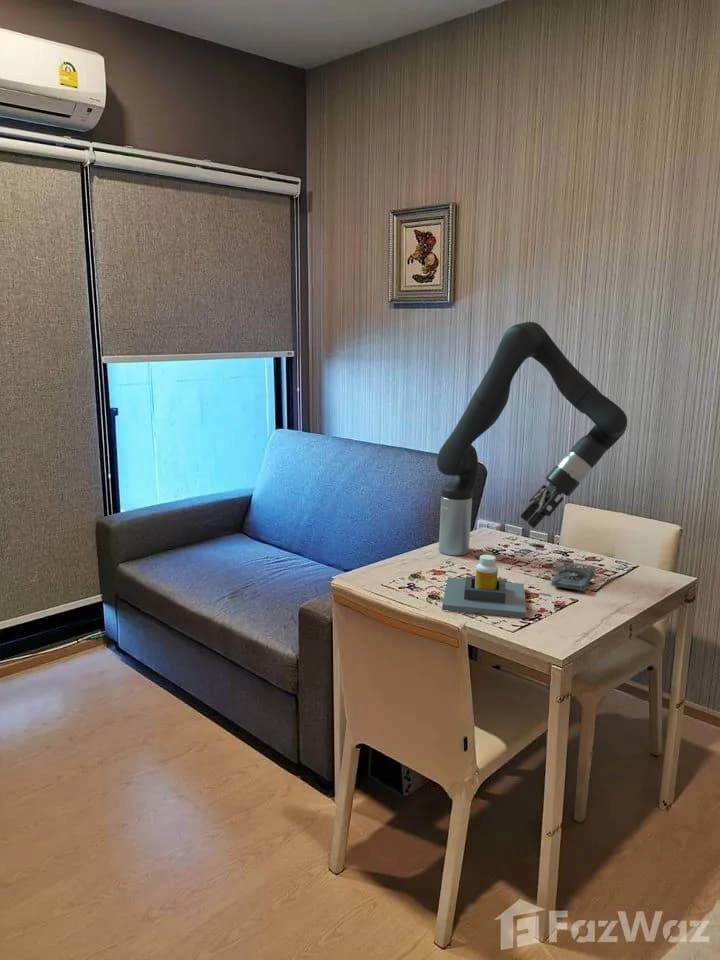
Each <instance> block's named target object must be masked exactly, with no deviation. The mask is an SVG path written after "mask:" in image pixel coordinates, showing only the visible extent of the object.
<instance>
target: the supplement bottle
mask: <svg viewBox="0 0 720 960" xmlns="http://www.w3.org/2000/svg"><path fill="white" fill-rule="evenodd" d="M496 558H497V557H496V556H494V555H492V554H481V555H480V556H479V561H478V562H479V563H478V564H477V565H476V567H475V568H476V569H475V577H476V579H475V588H476V589H488V590H496V587H497V579H498V573H499V572H498V571H499V567H498V566H497V565H496V564H497V563H496V561H497V559H496Z"/></svg>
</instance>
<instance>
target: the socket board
mask: <svg viewBox="0 0 720 960" xmlns="http://www.w3.org/2000/svg"><path fill="white" fill-rule="evenodd" d="M465 576H466V577H465V578H461V577H449V576H448V577H447V579H446V585H445V589H444V595H443V600H442V604H441V605H442V606H441V607H442V608H441V611H442V610H448V611H447V612H453V611H454V612H456V613H464V612H465V613H467V614H475V613H480V614H479V615H485V614H488V616H496V615H498V616H500V617H506V618H507V617H508V618H509V617H510V618H518V619H527V606H526V605H527V603H526V594H525V586H524V585H525V584H524V583H521V582H519V583H518V582H509V581H508V582H507V581H506V579H503V578H497V587H496V590H488V589H476V588H475V579H476V576H470V575H465ZM454 612H453V613H454ZM465 613H464V614H465ZM498 616H497V617H498Z"/></svg>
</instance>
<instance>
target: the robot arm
mask: <svg viewBox="0 0 720 960" xmlns="http://www.w3.org/2000/svg"><path fill="white" fill-rule="evenodd" d="M496 349H497V350H496V351H495V354H494V357H493V358H492V359H493V360H492V362H491V363H490V366H489V367H488V369H487V371H486V372H485V374H484V376H483V377H482V380H481V381H480V383H479V384H478V386H477V388H476V389H475V392H474V393H473V395H472V397H471V398H470V401H469V403H468V405H467V407H466V409H465V411H464V412H463V414H462V415H461V417H460V419H459V420H458V423H457V424H456V426H455V428H454V429H453V431H452V432H451V433H450V434H449V437H448V438H447V439H446V440H445V442H444V443H443V445H442V446H441V447H440V450H439V451H438V455H437V458H436V459H437V460H436V465H437V468H438V471H439V472H440V473H441V474H442V475H445V476H450V477H451V478H450V479H449V481H448V482H447V483H445V484H444V485H443V486H442V488H441V492H440V493H441V494H440V496H441V497H440V514H439V516H440V517H439V518H440V519H439V532H438V533H439V537H438V538H439V539H438V551H439V553H442V554H445V555H449V556H464V555H467V554H469V553H470V539H471V523H472V522H471V521H472V506H473V492H474V490H475V488H476V485H477V484H476V483H477V475H478V474H477V473H478V464H479V463H478V462H479V457H478V452H477V450H476V448H475V447H474V446H473V445H472V444H473V443H474V442H475V441H476V440H477V439H478V438H480V437H481V436H482V435H483V434H484V433H485V432H486V431H487V430H489V429H490V428H491V427H492V426H493V425H494V424H495V423H496V422H497V420H498V419H499V418H500V416H501V414H502V412H503V411H504V409H505V407H506V405H507V403H508V401H509V397H510V393H511V392H510V391H511V385H512V381H513V379H514V377H515V374H517V371H518V370H519V369H520V367H521V366H522V365H523V363H524V362H525V361H526V360H527V359H529V358H532V359H534V360H535V361H536V362H538V363H539V364H541V365H542V366H543V368H545V370H546V371H547V373H549V375H550V377H551V378H552V380H553V382H554V384H555V385H556V386H555V387H556V388H557V389H558V391H559V392H560V394H561V395H562V396H563V397H564V398H565V399H566V400H567V401H568V402H569V403H570V404H571V405H572V406H573V407H574V408H575V409H576V410H577V411H578V412H580V413H581V414H583V415H586V416H587V418H589V419H590V421H592V423H594V424H595V425H594V426H593V427H592V428H591V429H590V430H589V432H588V433H587V434H586V435H584V436H582V437H581V438H579V440H578V441H577V442H576V443H575V444H574V445H573V446H572V448H571V449H570V450H569V451H568V452H567V453H566V454H565V455H564V456H563V457H562V458H560V460H559V461H558V463H556V465H555V466H554V467H553V468H552V469H551V471H549V473H548V474H547V475H546V476H545V480H546V481H547V482H548V483H549V484H548V485H545V484H543V485H541V487H540V488H539V489H537V491H536V492H535V494H534V495H533V496H532V497H531V498H530V499H529V501H528V502H529V503H528V505H527V507H526V509H525V510H524V511H523V512H522V513H521V514H520V518H522V519H523V520H524V521H525V522H527V524H528V525H530V527H532V528H536V527H537V525H539V524H540V523H541V521H542V520H543V518H546V517H550V516H551V515H552V514H553V512H554V511H555V510H556V509H557V507H558V506H559V505H560V504H561V502H563V501H564V500H565V498H564V496H566V497H570V496H571V495H572V494H573V492H575V490H576V489H577V488H578V487H579V486H580V485H581V484H582V483H583V481H584V480H585V478H587V476H589V473H590V472H591V470H592V469H593V468H594V467H595V466H596V465H597V464H598V462H599V461H600V460H601V458H603V456H604V454H605V453H606V452H607V451H608V450H609V449H610V448H611V447H613V446H614V445H615V444H616V443H617V442H618V440H620V438H621V437H622V436H623V435H624V434H625V432H626V430H627V427H628V417H627V414H626V413H625V412H624V410H623V409H622V408H621V407H620V406H619V405H618V404H616V403H615V402H614V401H612V400H611V399H610V398H608V397H607V396H605V395H604V394H603V393H601V391H600V390H599V389H598V388H597V387H596V386H595V385H594V384H593V383H592V382H590V381H589V380H588V379H587V378H586V377H585V376H584V375H583V374H582V373H581V372H580V371H579V370H578V369H577V368H576V367H575V366H574V365H573V364H572V362H571V361H570V360H569V359H568V358H567V357H566V355H565V354H564V353H563V351H561V349H560V348H559V347H558V346H557V345H556V344H555V342H554V340H553V339H552V338H551V336H550V335H549V334H548V333H547V331H546V330H545V329H544V328H543V327H542V325H540V324H539V323H537V322H534V321H525V322H522V323H521V322H520V323H517V324H514V325H512V326H510V327H509V328H508V329H507V330H506V331H505V332H504V334H503V336H502V337H501V340H500V342H499V344H498V346H497V348H496ZM562 494H563V495H564V496H562Z"/></svg>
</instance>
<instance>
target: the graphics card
mask: <svg viewBox="0 0 720 960" xmlns="http://www.w3.org/2000/svg"><path fill="white" fill-rule="evenodd" d="M552 565H553V566H555V567H552V571H555V572H557V573H556V574H555V576H554V577H553V579H552V581H551V586H553V587H560V588H564V589H570V590H577V591H582V590H583V591H585V589H587V588H588V587H589V584H590V583H591V582H590V580H591V579H594V577H595V578H596V567H597V566H596V565H595V566H594V565H590V564H589V565H588V564H584V563H583V564H582V563H576V562H575V563H574V562H567V561H561V560H560V561H559V560H556V561H553V562H552Z"/></svg>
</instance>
